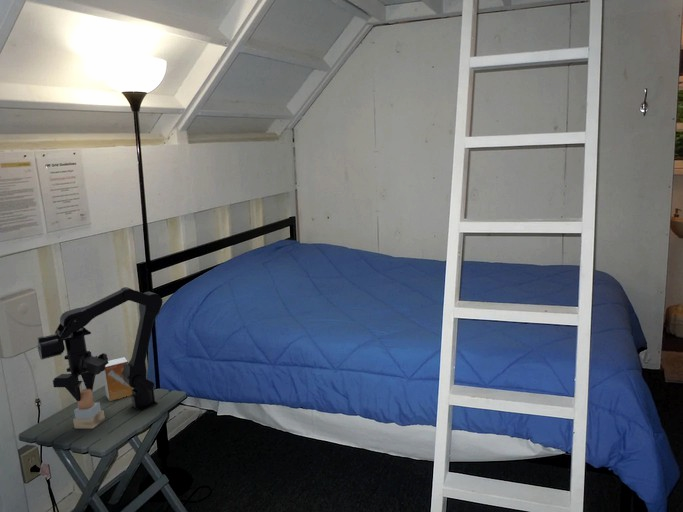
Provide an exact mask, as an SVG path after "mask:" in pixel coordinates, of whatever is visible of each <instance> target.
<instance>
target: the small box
mask: <svg viewBox="0 0 683 512" xmlns="http://www.w3.org/2000/svg"><path fill="white" fill-rule="evenodd" d="M124 363H129V361H128V360H127V358H125V356H124V357H119V358H115V359H111V360H108V364H107V365H106V366H105V370H104V371H102V376H103V383H104V389H105V396H106V398H107V399H108V401H109V402H113V401H116V400H119V399H123V397H124V398H126V396H127V397H131V396H130V395H132V390H133V388H132V387H131V386H129V385H128V384H127V383H126V382H125V381H124V379H123V375H122V374H121V373H122V372H123V369H124Z"/></svg>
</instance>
